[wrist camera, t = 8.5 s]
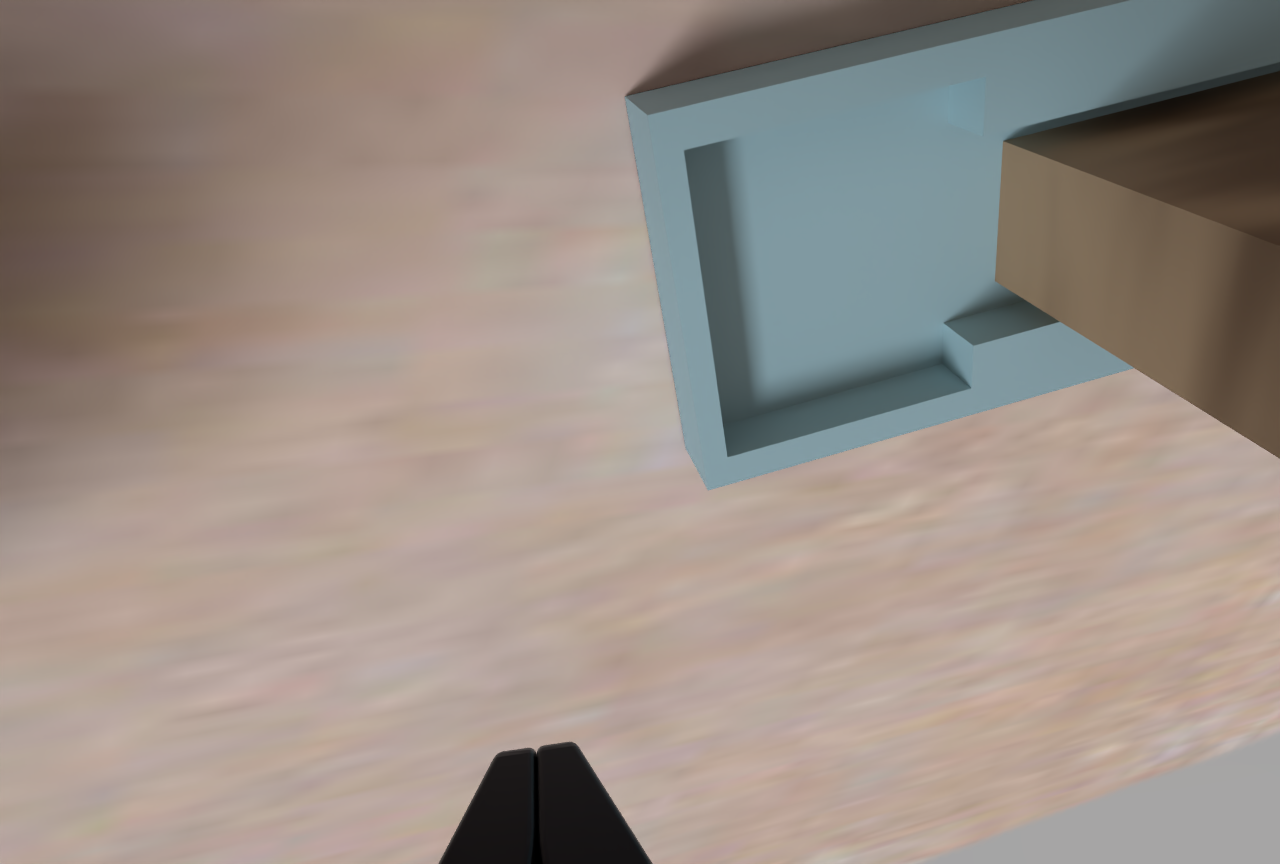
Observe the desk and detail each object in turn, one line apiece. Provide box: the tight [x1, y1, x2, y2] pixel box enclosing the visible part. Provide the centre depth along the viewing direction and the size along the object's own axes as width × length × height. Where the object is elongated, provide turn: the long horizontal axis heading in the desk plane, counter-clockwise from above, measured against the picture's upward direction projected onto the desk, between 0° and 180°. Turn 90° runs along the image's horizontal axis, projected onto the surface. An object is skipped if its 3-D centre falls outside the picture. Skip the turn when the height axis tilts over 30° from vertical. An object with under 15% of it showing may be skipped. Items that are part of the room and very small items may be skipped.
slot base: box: [625, 0, 1280, 490], centre depth 20 cm, size 21×9×4 cm, turn 100°
